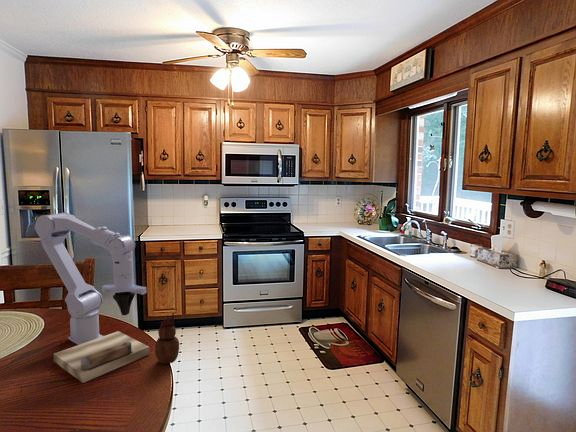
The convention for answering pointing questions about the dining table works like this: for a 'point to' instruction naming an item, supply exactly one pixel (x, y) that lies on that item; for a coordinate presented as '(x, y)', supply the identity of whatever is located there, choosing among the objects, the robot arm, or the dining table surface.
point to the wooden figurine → (167, 342)
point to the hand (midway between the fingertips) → (125, 314)
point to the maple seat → (73, 355)
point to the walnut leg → (105, 355)
